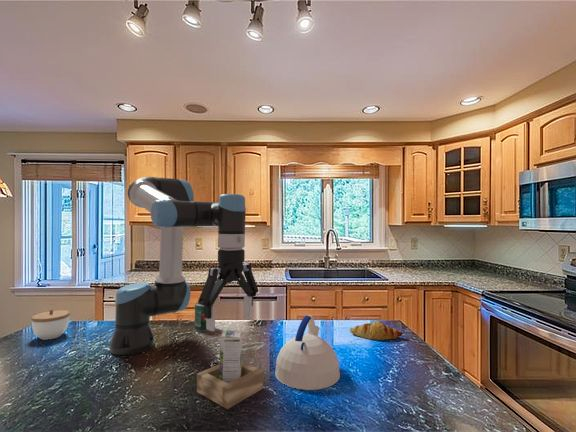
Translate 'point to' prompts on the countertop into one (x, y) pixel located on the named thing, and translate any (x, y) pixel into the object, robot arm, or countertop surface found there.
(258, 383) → the socket block
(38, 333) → the lidded bowl
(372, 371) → the countertop surface
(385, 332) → the croissant
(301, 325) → the kettle
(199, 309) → the canned tomato
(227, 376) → the syrup box
